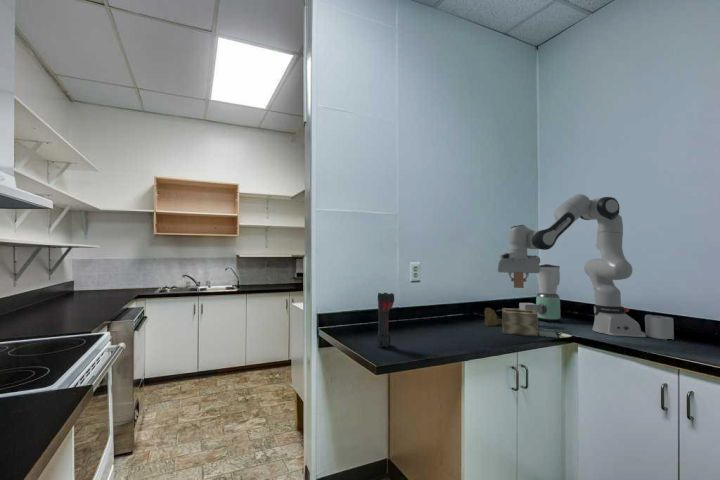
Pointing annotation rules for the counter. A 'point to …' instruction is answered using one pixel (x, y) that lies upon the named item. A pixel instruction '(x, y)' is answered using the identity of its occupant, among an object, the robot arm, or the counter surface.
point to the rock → (491, 317)
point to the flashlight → (384, 319)
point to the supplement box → (529, 307)
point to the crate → (519, 322)
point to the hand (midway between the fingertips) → (518, 281)
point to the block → (518, 280)
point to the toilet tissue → (659, 327)
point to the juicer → (548, 293)
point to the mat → (547, 334)
